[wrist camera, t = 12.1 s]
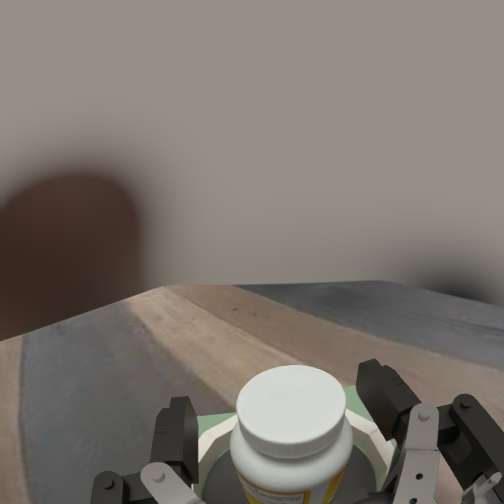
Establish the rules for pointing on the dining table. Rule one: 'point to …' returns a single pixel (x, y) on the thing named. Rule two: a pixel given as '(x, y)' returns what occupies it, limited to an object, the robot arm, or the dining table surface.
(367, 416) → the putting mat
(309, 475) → the supplement bottle
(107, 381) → the dining table surface
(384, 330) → the dining table surface
